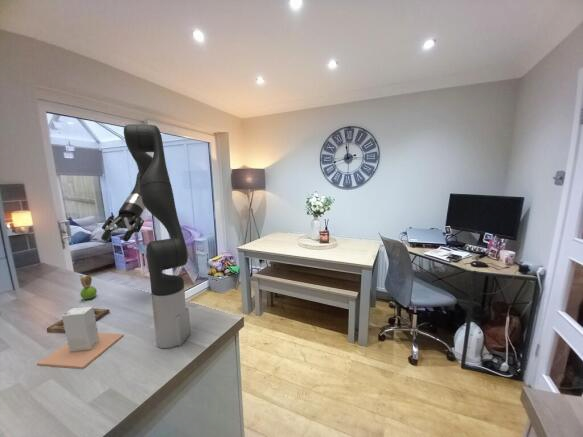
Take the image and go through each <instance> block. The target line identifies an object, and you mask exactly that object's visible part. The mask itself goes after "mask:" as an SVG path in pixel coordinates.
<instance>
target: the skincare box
mask: <svg viewBox="0 0 583 437" xmlns="http://www.w3.org/2000/svg"><path fill="white" fill-rule="evenodd" d="M94 309H95V307H94V306H88V307H87V306H86V307H76V308H74V307H73V308H71V309H69V310H68V311H66V312H65V313H64V314H63V315H62V316H61V318H62V319H63V324H64V325H63V326H64V328H65V333H64V334H65V337H66V341H67V343H68V347H69V352H72V351H82V350H91V349H92V348H93V347H94V346H95V345H96V344H97V343H98V342H99V336H98V333H99V332H98V325H97V321H96V319H95V315H96V314H94ZM62 319H61V320H62ZM67 343H66V344H67Z"/></svg>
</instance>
